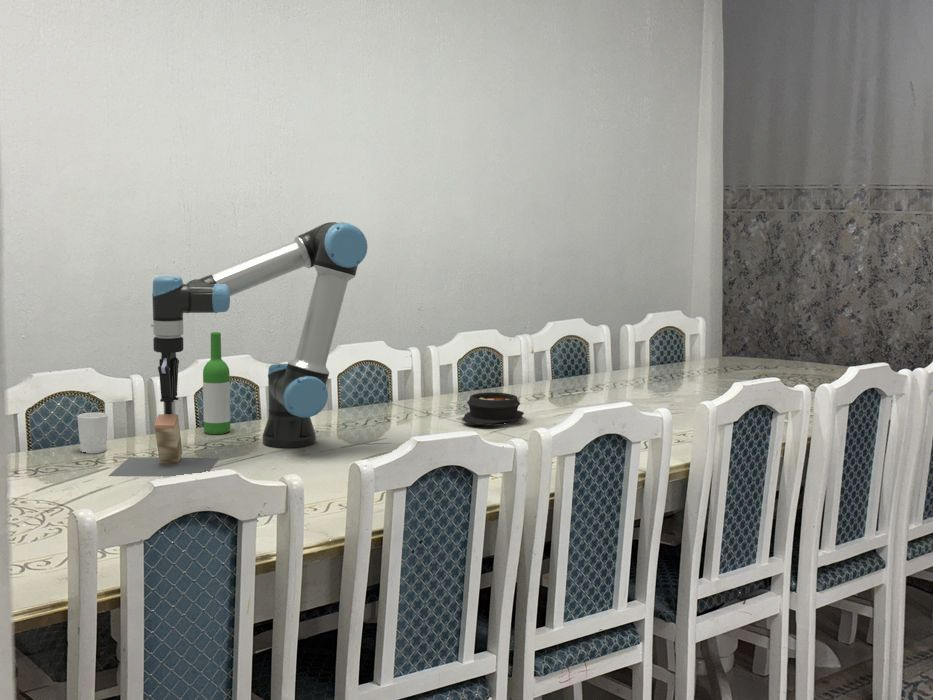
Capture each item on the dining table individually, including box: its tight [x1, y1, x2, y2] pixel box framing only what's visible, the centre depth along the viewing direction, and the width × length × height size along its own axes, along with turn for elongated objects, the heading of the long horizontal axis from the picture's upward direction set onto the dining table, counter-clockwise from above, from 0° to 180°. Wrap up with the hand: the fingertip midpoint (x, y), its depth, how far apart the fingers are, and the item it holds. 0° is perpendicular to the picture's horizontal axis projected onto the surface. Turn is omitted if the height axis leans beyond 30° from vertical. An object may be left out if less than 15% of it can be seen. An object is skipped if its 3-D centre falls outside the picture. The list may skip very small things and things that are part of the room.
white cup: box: [77, 412, 109, 454], centre depth 297 cm, size 8×8×10 cm
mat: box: [108, 456, 221, 478], centre depth 280 cm, size 24×20×1 cm
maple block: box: [154, 413, 183, 463], centre depth 282 cm, size 5×5×12 cm
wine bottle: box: [202, 331, 231, 435], centre depth 321 cm, size 8×8×30 cm
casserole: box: [461, 391, 525, 425], centre depth 346 cm, size 25×19×8 cm
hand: (169, 425), depth 284 cm, fingers closed
